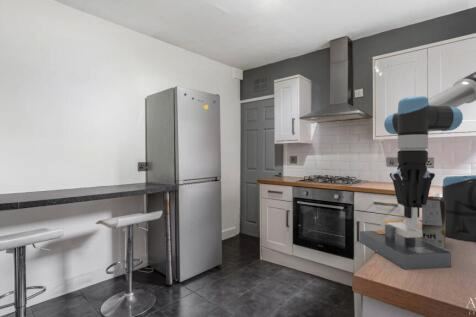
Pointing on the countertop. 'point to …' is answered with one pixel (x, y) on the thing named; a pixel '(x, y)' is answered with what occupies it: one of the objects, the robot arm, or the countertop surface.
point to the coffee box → (434, 221)
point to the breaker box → (405, 249)
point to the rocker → (402, 228)
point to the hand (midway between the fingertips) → (411, 228)
